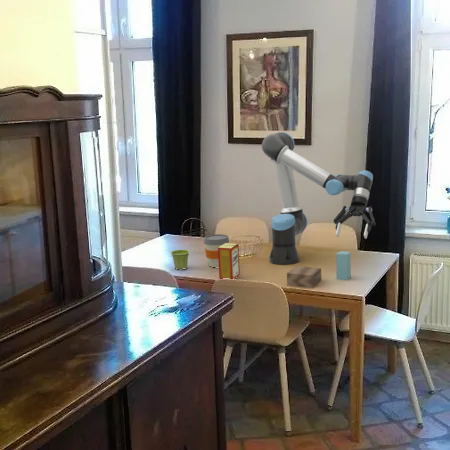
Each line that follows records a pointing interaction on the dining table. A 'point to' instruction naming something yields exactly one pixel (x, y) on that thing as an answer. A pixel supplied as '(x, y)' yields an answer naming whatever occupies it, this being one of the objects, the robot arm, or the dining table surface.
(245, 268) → the dining table surface
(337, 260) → the teal wooden block
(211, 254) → the reusable coffee cup
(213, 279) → the dining table surface
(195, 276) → the dining table surface
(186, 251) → the plant pot
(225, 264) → the baking soda box
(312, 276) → the walnut block
